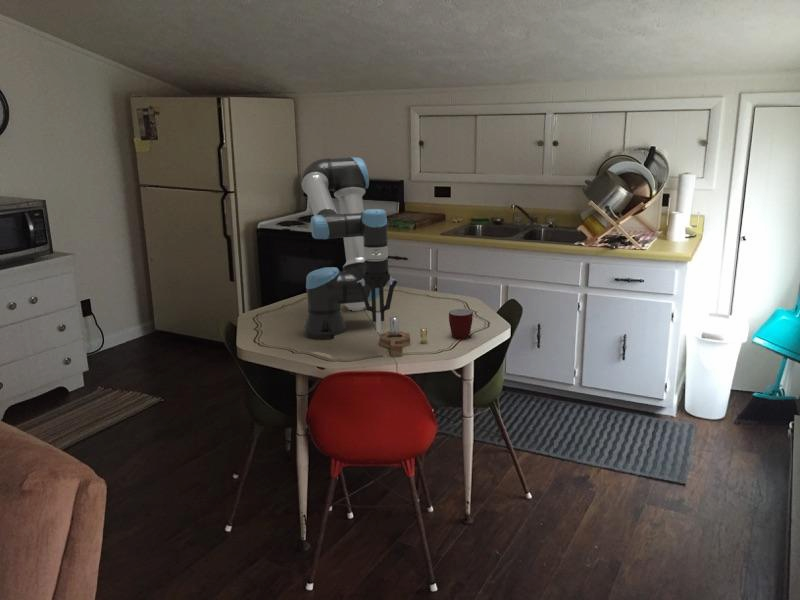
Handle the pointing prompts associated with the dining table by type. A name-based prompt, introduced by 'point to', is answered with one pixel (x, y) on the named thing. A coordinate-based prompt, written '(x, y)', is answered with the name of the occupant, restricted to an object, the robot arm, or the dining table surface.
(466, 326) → the mug
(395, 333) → the post
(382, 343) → the flange lever
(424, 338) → the dowel
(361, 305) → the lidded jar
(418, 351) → the dining table surface
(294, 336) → the dining table surface
